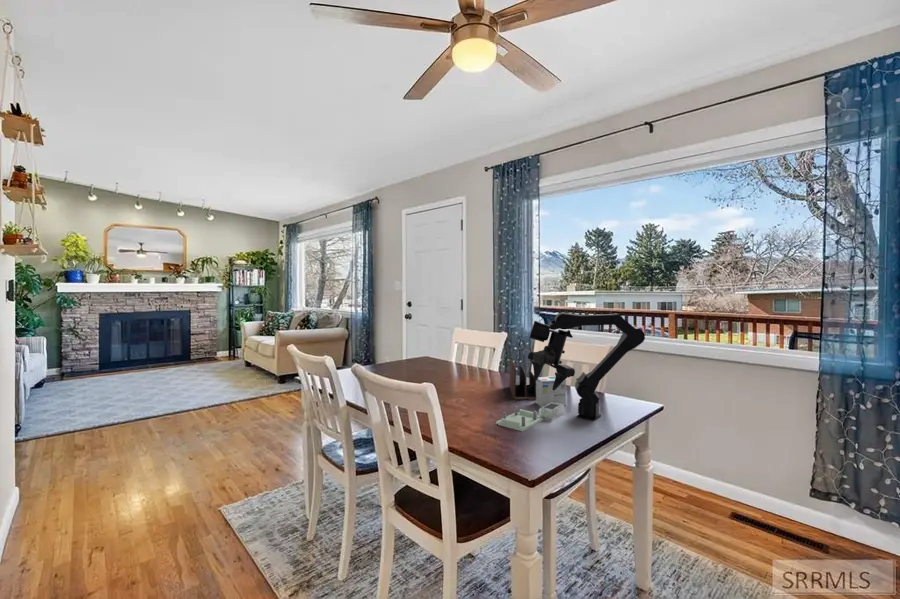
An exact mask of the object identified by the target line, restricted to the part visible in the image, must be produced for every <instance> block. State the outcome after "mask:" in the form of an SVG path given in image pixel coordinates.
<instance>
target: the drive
mask: <svg viewBox="0 0 900 599" xmlns="http://www.w3.org/2000/svg"><path fill="white" fill-rule="evenodd" d="M538 414H539V415H538V417H541V418H543V421H547V422H548V421H549V422H553V421H555V420H557V419H559V418H560V417H561V416H563V415H564V414H565V406H564V404H560V403H555V402H550V403H549V404H547V405H545V406H543V407H541V406H540V408H539V412H538Z"/></svg>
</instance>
